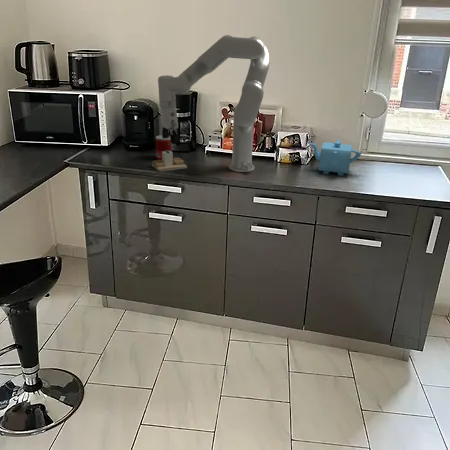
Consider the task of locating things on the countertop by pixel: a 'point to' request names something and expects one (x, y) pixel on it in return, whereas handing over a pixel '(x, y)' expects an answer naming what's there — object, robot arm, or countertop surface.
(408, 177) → the countertop surface
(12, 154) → the countertop surface
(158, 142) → the canned food
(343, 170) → the teakettle
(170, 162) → the tab
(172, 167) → the board
